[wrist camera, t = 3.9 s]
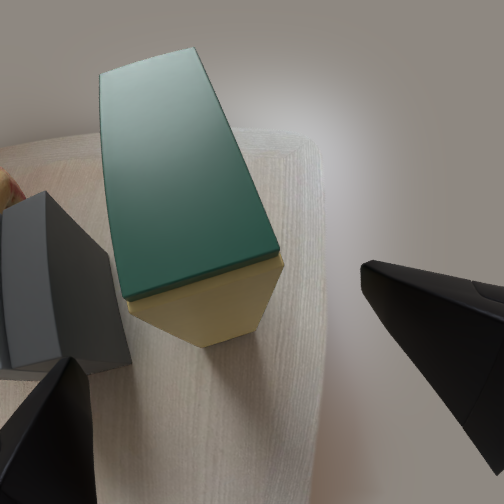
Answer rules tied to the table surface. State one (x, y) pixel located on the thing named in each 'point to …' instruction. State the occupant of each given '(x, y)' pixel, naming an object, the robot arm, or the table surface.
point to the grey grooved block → (54, 294)
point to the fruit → (9, 191)
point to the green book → (182, 203)
